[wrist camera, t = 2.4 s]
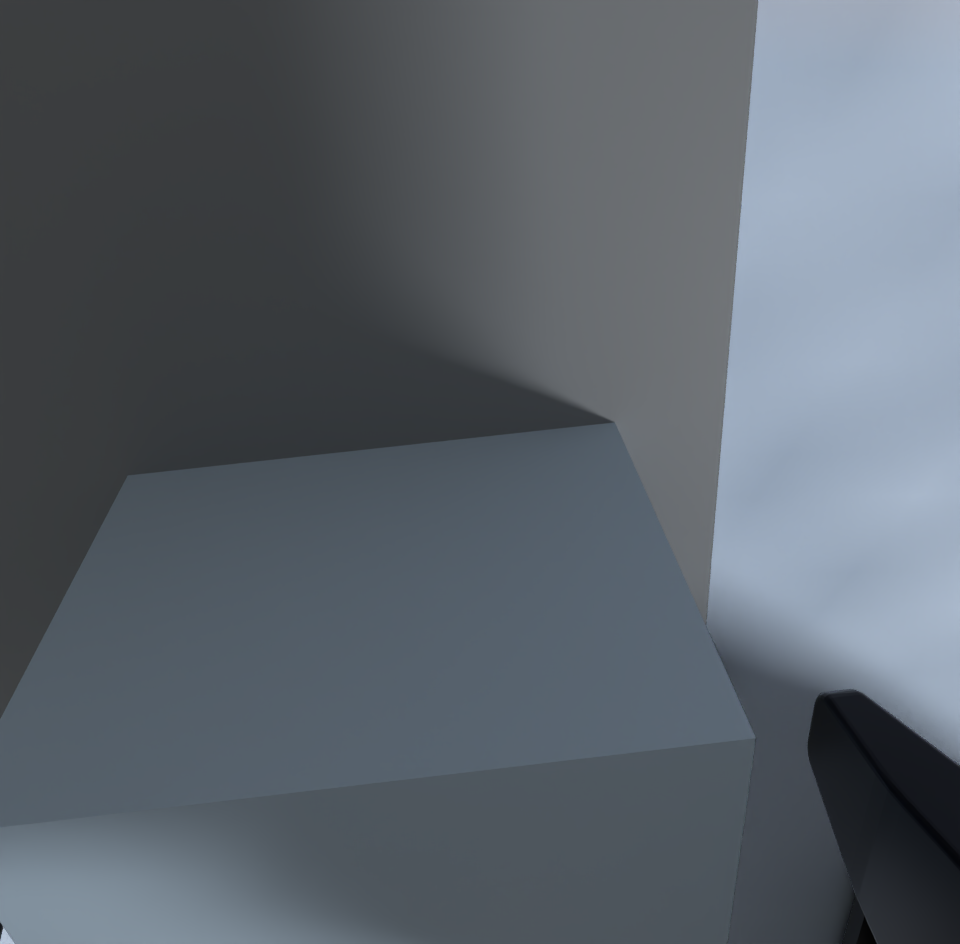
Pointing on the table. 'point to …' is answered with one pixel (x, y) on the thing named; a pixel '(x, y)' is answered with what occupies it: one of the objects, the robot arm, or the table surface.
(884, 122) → the table surface
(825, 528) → the table surface
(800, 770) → the table surface
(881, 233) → the table surface
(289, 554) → the block
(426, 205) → the board
